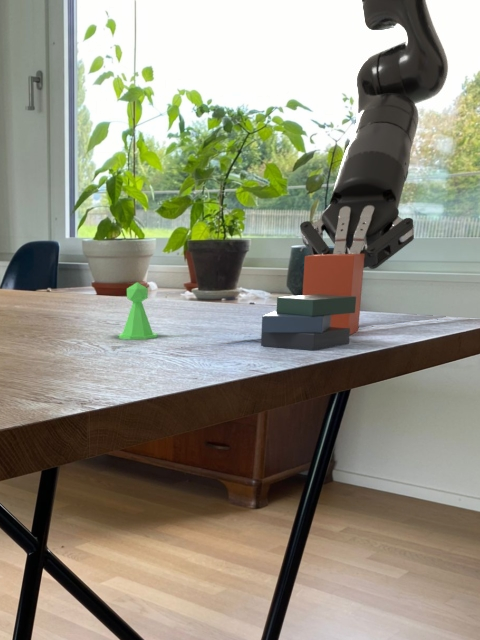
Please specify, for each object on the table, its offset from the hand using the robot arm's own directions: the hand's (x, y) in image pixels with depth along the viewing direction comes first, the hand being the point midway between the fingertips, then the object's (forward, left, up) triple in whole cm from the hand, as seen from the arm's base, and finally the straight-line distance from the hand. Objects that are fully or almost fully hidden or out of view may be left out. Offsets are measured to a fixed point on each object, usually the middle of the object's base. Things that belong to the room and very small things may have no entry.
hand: (338, 292), depth 91 cm
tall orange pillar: (+3, +2, -4) cm, 5 cm away
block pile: (+12, +7, -4) cm, 14 cm away
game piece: (+22, -7, -4) cm, 23 cm away
